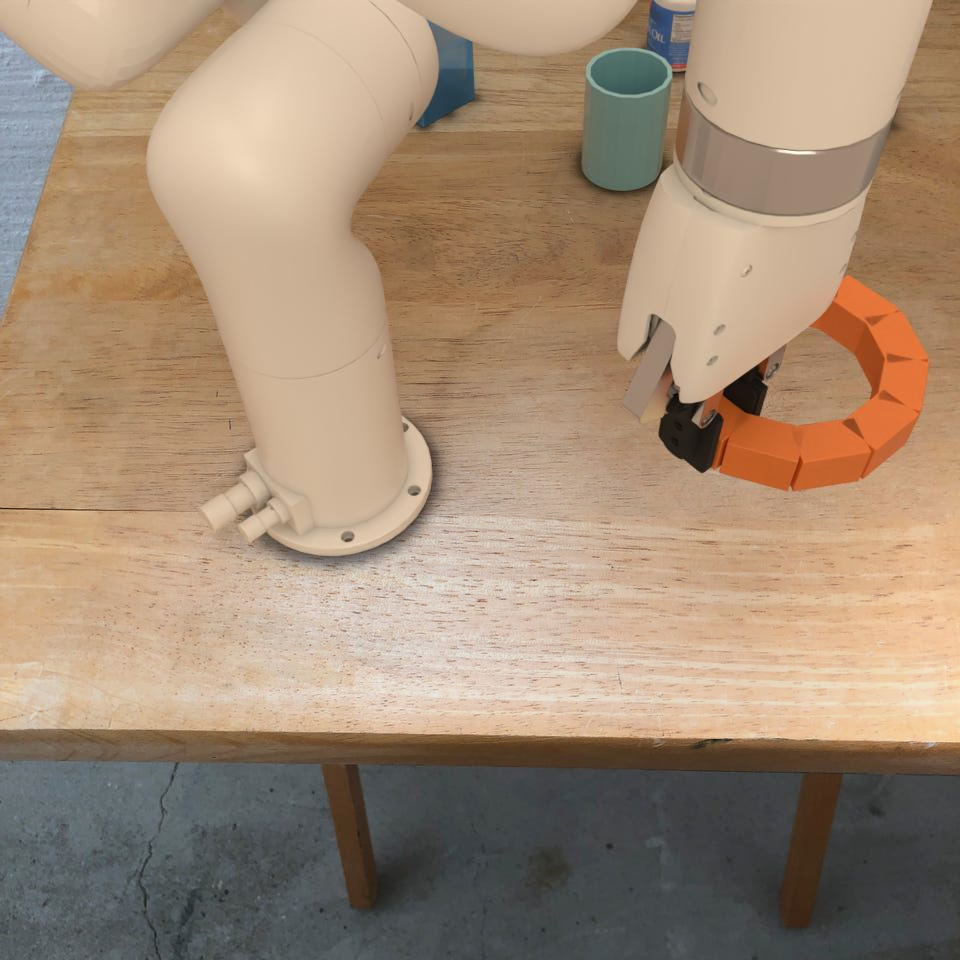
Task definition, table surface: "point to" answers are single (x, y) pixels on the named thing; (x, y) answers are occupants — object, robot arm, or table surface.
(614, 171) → the cup
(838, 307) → the ring
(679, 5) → the pill bottle
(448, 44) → the perfume bottle
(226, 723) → the table surface
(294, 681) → the table surface
